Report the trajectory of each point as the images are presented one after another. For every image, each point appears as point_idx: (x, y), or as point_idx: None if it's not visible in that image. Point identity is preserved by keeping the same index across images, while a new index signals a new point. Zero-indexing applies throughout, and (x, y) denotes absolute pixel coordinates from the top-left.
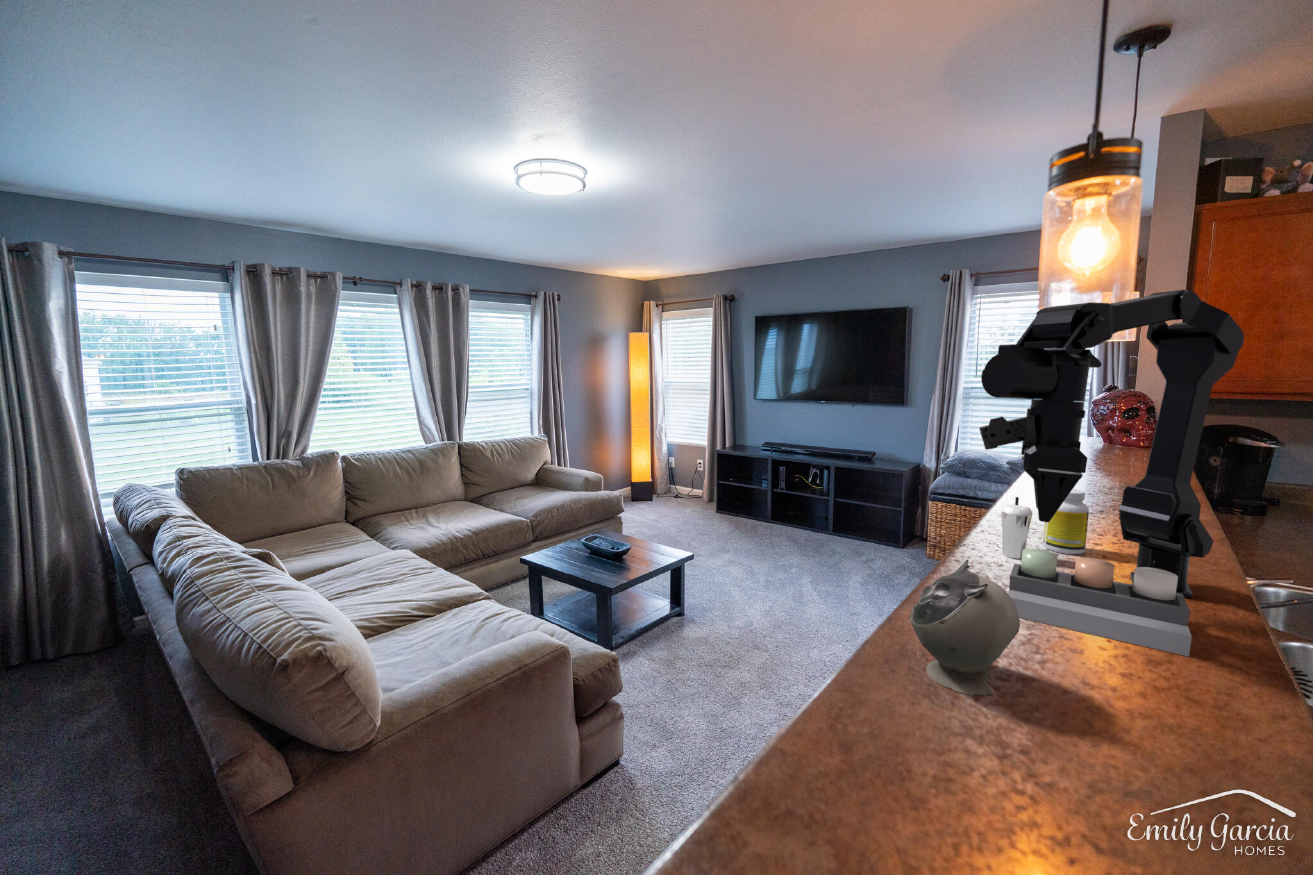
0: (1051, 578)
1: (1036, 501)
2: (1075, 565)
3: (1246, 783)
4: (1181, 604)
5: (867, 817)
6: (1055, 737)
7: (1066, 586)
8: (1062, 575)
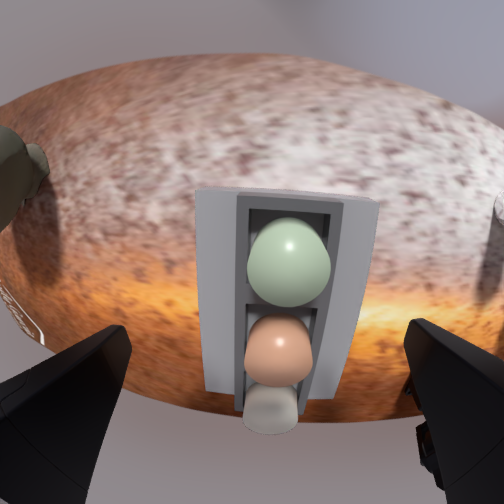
0: None
1: (425, 333)
2: (278, 330)
3: (47, 336)
4: None
5: None
6: (12, 247)
7: (235, 296)
8: None
